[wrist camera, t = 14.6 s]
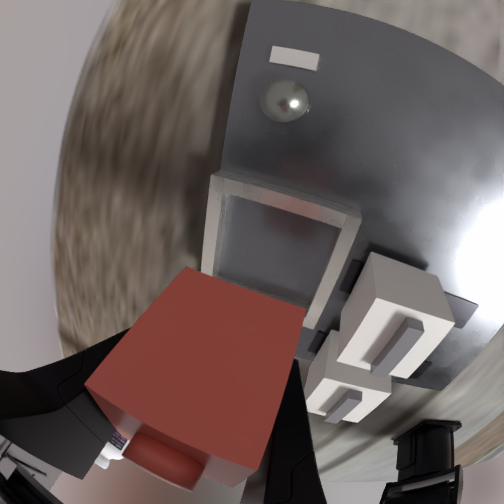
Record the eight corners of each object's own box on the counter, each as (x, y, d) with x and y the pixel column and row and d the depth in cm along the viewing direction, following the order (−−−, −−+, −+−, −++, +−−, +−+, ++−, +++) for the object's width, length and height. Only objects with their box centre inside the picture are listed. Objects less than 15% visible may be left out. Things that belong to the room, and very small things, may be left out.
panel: (568, 155, 6) (588, 165, 4) (439, 379, 17) (442, 400, 15) (259, 6, 9) (244, -9, 7) (209, 311, 20) (196, 331, 18)
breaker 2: (437, 276, 11) (458, 333, 8) (402, 330, 13) (407, 388, 10) (371, 251, 12) (377, 308, 9) (341, 311, 14) (334, 371, 11)
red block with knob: (306, 309, 8) (244, 503, 3) (275, 376, 10) (224, 506, 5) (186, 266, 9) (64, 408, 4) (185, 341, 11) (111, 452, 6)
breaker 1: (389, 346, 14) (391, 402, 11) (361, 380, 16) (356, 430, 13) (331, 329, 15) (322, 387, 12) (309, 366, 17) (297, 417, 14)
